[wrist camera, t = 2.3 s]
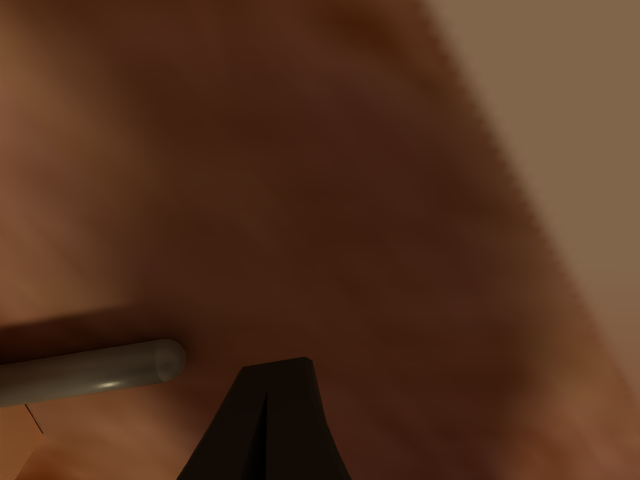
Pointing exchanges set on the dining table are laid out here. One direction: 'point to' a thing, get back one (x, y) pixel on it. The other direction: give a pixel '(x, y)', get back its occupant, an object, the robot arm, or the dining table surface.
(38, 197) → the dining table surface
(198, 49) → the dining table surface
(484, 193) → the dining table surface
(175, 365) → the tan handled block
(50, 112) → the dining table surface
